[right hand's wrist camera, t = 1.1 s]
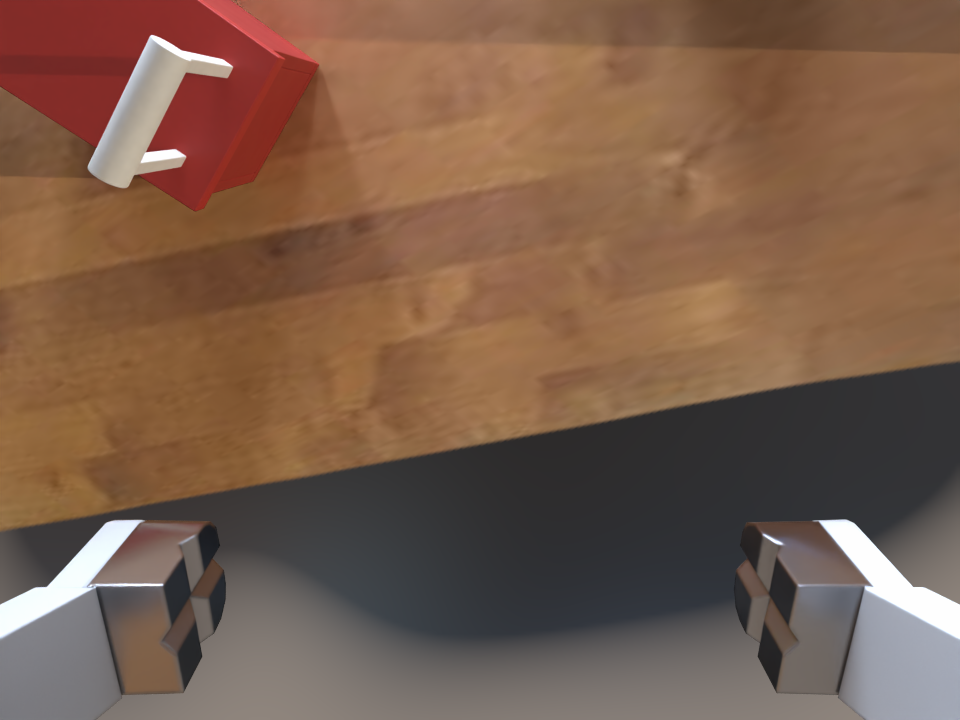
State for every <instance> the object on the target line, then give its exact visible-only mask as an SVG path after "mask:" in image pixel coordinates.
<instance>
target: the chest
mask: <svg viewBox="0 0 960 720" xmlns="http://www.w3.org/2000/svg"><path fill="white" fill-rule="evenodd" d="M203 1H205V2H206V3H207V4H209V5H210V6H212V7H213V8H214V9H216V10H217V11H219V12H220V13H221V14H223V15H224V16H226V17H227V18H228V19H230V20H231V21H233V22H234V23H235V24H237V25H238V26H240V27H241V28H242V29H244V30H245V31H247V32H248V33H249V34H251V35H252V36H254V37H255V38H256V39H258V40H259V41H261V42H262V43H263V44H265V45H266V46H268V47H269V48H270V49H272V50H273V51H275V52H276V53H277V54H279V55H280V56H282V57H283V58H284V59H285V61H284V63H283V65H282V67H281V68H280V70H279V72H278V74H277V76H276V77H275V79H274V81H273V83H272V85H271V87H270V88H269V90H268V92H267V94H266V96H265V98H264V99H263V101H262V103H261V105H260V107H259V109H258V110H257V112H256V114H255V116H254V118H253V119H252V121H251V123H250V125H249V127H248V129H247V130H246V132H245V134H244V136H243V138H242V140H241V141H240V143H239V145H238V147H237V149H236V151H235V152H234V154H233V156H232V158H231V160H230V161H229V163H228V165H227V167H226V169H225V171H224V172H223V174H222V176H221V178H220V180H219V182H218V183H217V185H216V187H215V189H214V191H213V193H215V192H218V191H222V190H225V189H229V188H232V187H235V186H239V185H242V184H245V183H249V182H253V181H254V179H255V178H256V176H257V174H258V172H259V171H260V169H261V167H262V165H263V163H264V162H265V160H266V158H267V156H268V155H269V153H270V151H271V149H272V147H273V146H274V144H275V142H276V140H277V139H278V137H279V135H280V133H281V132H282V130H283V128H284V126H285V124H286V123H287V121H288V119H289V117H290V116H291V114H292V112H293V110H294V109H295V107H296V105H297V103H298V101H299V100H300V98H301V96H302V94H303V93H304V91H305V89H306V87H307V86H308V84H309V82H310V80H311V78H312V77H313V75H314V73H315V71H316V70H317V68H318V66H319V64H318V63H317V62H316V61H314V60H313V59H311V58H310V57H309V56H307V55H306V54H304V53H303V52H302V51H300V50H299V49H298V48H296V47H295V46H293V45H292V44H291V43H289V42H288V41H286V40H285V39H284V38H282V37H281V36H279V35H278V34H277V33H275V32H274V31H273V30H271V29H270V28H268V27H267V26H266V25H264V24H263V23H261V22H260V21H259V20H257V19H256V18H254V17H253V16H252V15H250V14H249V13H248V12H246V11H245V10H243V9H242V8H241V7H239V6H238V5H236V4H235V3H234V2H232V1H231V0H203Z"/></svg>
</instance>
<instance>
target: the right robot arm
mask: <svg viewBox="0 0 960 720" xmlns="http://www.w3.org/2000/svg"><path fill="white" fill-rule="evenodd" d="M219 546H220V544H219V539H218V534H217V529H216V527H215V526H214V525H213V524H212V523H211V522H208V521H159V520H147V521H144V520H114V521H111V522H107V523H106V524H105V525H104V526H103V527H102V528H101V529H100V530H99V531H98V532H97V533H96V534H95V535H94V537H93V538H92V539H91V540H90V541H89V542H88V543H87V544H86V545H85V546H84V547H83V549H82V550H81V551H80V552H79V553H78V554H77V555H76V556H75V557H74V558H73V559H72V560H71V562H70V563H69V564H68V565H67V566H66V567H65V568H64V569H63V570H62V571H61V572H60V573H59V575H58V576H57V577H56V578H55V579H54V580H53V581H52V582H51V583H50V584H49V585H48V586H47V587H36V588H34V589H32V590H30V591H27V592H25V593H23V594H21V595H19V596H17V597H15V598H13V599H11V600H9V601H7V602H5V603H3V604H1V605H0V720H96V719H97V718H98V717H100V716H101V715H102V714H103V713H105V712H106V711H107V710H108V709H109V708H111V707H112V706H113V705H114V704H115V703H117V702H118V701H119V700H120V699H121V698H122V695H134V694H169V693H184V691H185V689H186V687H187V685H188V683H189V681H190V679H191V677H192V675H193V673H194V671H195V670H196V668H197V666H198V664H199V662H200V660H201V658H202V652H201V647H200V643H201V642H203V641H204V640H205V639H207V638H208V637H210V636H211V635H213V634H214V632H215V630H216V628H217V626H218V624H219V622H220V620H221V617H222V613H223V608H224V604H225V597H226V582H225V575H224V570H223V569H222V568H221V567H220V566H219V565H218V564H217V563H216V562H215V561H214V560H213V559H212V558H213V556H214V555H215V553H216V551H217V550H218V548H219ZM740 546H741V548H742V550H743V551H744V553H745V555H746V556H747V558H748V559H747V560H746V561H745V562H744V563H743V564H742V565H741V566H740V567H739V568H738V569H737V570H736V576H735V585H734V594H735V604H736V610H737V613H738V616H739V620H740V622H741V624H742V626H743V628H744V630H745V632H746V634H748V635H749V636H750V637H752V638H753V639H755V640H756V641H758V642H759V643H760V647H759V652H758V658H759V660H760V662H761V664H762V666H763V668H764V670H765V671H766V673H767V675H768V677H769V679H770V681H771V683H772V685H773V687H774V689H775V691H776V693H789V694H825V695H838V698H839V699H840V700H841V701H842V702H844V703H845V704H846V705H847V706H849V707H850V708H851V709H852V710H853V711H855V712H856V713H857V714H858V715H859V716H861V717H862V718H863V719H864V720H960V605H959V604H957V603H955V602H953V601H951V600H949V599H947V598H945V597H943V596H941V595H939V594H937V593H935V592H932V591H930V590H928V589H926V588H924V587H913V586H912V585H911V584H910V583H909V582H908V581H907V580H906V579H905V578H904V577H903V576H902V575H901V573H900V572H899V571H898V570H897V569H896V568H895V567H894V566H893V565H892V564H891V563H890V562H889V560H888V559H887V558H886V557H885V556H884V555H883V554H882V553H881V552H880V551H879V550H878V548H877V547H876V546H875V545H874V544H873V543H872V542H871V541H870V540H869V539H868V538H867V537H866V535H865V534H864V533H863V532H862V531H861V530H860V529H859V528H858V527H857V526H856V525H855V524H854V523H852V522H850V521H848V520H821V521H802V522H750V523H746V526H745V528H744V530H743V532H742V538H741V544H740Z"/></svg>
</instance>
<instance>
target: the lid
mask: <svg viewBox="0 0 960 720" xmlns="http://www.w3.org/2000/svg"><path fill="white" fill-rule="evenodd" d="M284 61H285V59H284V58H283V57H282V56H280V55H279V54H277V53H276V52H275V51H273V50H272V49H270V48H269V47H268V46H266V45H265V44H263V43H262V42H261V41H259V40H258V39H256V38H255V37H254V36H252V35H251V34H249V33H248V32H247V31H245V30H244V29H242V28H241V27H240V26H238V25H237V24H235V23H234V22H233V21H231V20H230V19H228V18H227V17H226V16H224V15H223V14H221V13H220V12H219V11H217V10H216V9H214V8H213V7H212V6H210V5H209V4H207V3H206V2H205V1H203V0H0V86H1V87H2V88H4V89H5V90H7V91H8V92H10V93H11V94H13V95H15V96H16V97H18V98H19V99H21V100H22V101H24V102H25V103H27V104H29V105H30V106H32V107H33V108H35V109H36V110H38V111H39V112H41V113H43V114H44V115H46V116H47V117H49V118H50V119H52V120H53V121H55V122H56V123H58V124H60V125H61V126H63V127H64V128H66V129H67V130H69V131H70V132H72V133H74V134H75V135H77V136H78V137H80V138H81V139H83V140H84V141H86V142H88V143H89V144H91V145H92V146H94V147H95V148H96V150H95V152H94V154H93V156H92V158H91V161H90V163H89V165H88V170H89V171H90V173H92V174H93V175H94V176H95V177H97V178H98V179H100V180H101V181H103V182H105V183H107V184H110V185H112V186H115V187H119V188H127V187H128V186H129V184H130V182H131V180H132V178H133V176H134V175H139V176H140V177H142V178H144V179H145V180H147V181H148V182H150V183H151V184H153V185H154V186H156V187H158V188H159V189H161V190H162V191H164V192H165V193H167V194H168V195H170V196H172V197H173V198H175V199H176V200H178V201H179V202H181V203H182V204H184V205H186V206H187V207H189V208H190V209H192V210H193V211H198V210H201V209H203V208H204V207H205V205H206V203H207V202H208V200H209V198H210V196H211V194H212V193H213V191H214V189H215V187H216V185H217V183H218V182H219V180H220V178H221V176H222V174H223V172H224V171H225V169H226V167H227V165H228V163H229V161H230V160H231V158H232V156H233V154H234V152H235V151H236V149H237V147H238V145H239V143H240V141H241V140H242V138H243V136H244V134H245V132H246V130H247V129H248V127H249V125H250V123H251V121H252V119H253V118H254V116H255V114H256V112H257V110H258V109H259V107H260V105H261V103H262V101H263V99H264V98H265V96H266V94H267V92H268V90H269V88H270V87H271V85H272V83H273V81H274V79H275V77H276V76H277V74H278V72H279V70H280V68H281V67H282V65H283V63H284Z"/></svg>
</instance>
